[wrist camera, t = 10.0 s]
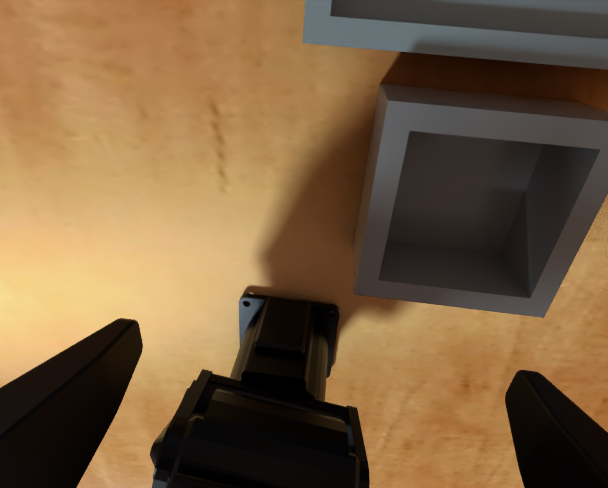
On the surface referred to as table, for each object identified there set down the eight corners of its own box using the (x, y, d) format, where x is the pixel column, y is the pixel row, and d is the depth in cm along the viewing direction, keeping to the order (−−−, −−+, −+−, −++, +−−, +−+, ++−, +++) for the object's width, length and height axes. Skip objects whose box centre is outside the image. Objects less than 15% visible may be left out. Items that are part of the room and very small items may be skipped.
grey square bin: (509, 265, 22) (543, 317, 18) (353, 247, 23) (354, 294, 19) (578, 101, 17) (643, 124, 14) (379, 83, 18) (387, 100, 14)
